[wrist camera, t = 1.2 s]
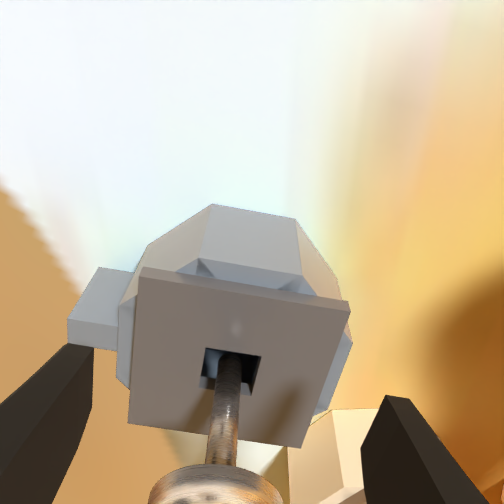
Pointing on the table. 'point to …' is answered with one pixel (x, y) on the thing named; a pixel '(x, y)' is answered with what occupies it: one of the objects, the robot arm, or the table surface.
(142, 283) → the gray faceted block
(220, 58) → the table surface
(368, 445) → the robot arm
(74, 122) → the table surface
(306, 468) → the cream boxy piece
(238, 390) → the metal bulb with stem
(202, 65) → the table surface
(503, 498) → the foam cup
